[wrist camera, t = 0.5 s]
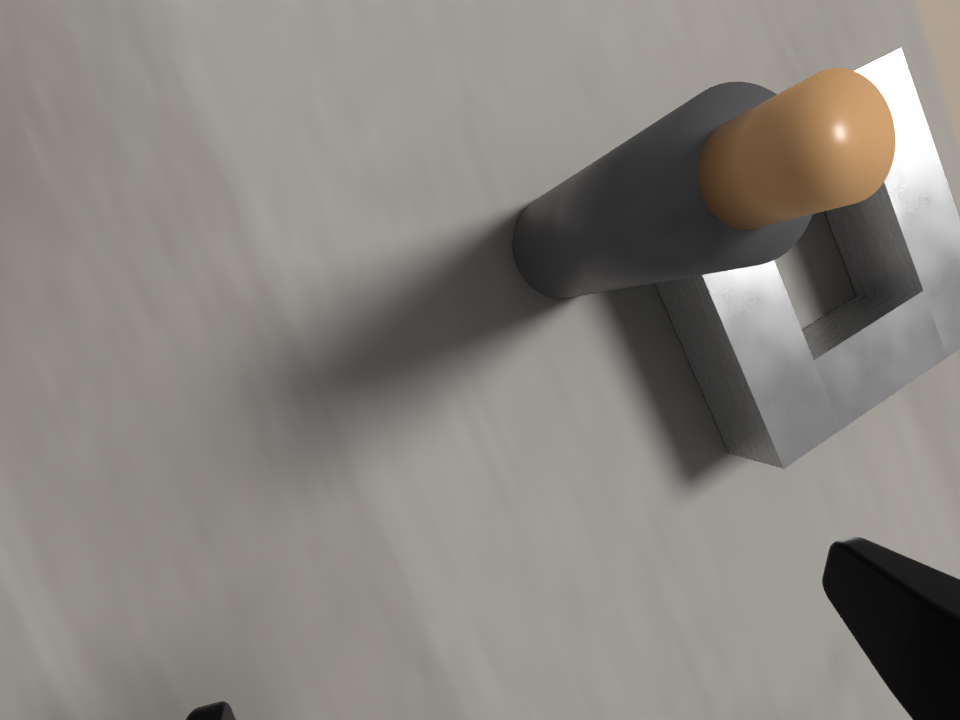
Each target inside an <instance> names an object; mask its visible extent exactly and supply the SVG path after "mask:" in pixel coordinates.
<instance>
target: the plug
mask: <svg viewBox="0 0 960 720" xmlns="http://www.w3.org/2000/svg"><path fill="white" fill-rule="evenodd" d="M894 154H895V128H894V122H893V118H892V115H891V112H890V109H889V107H888V104H887V102H886V100H885V99H884V97H883V95H882V94H881V92H880V91H879V89H878V88H877V87H876V86H875V85H874V84H873V83H872V82H871V81H870V80H869V79H868V78H866V77H865V76H863V75H862V74H860V73H858V72H856V71H853V70H850V69H845V68H831V69H826V70H824V71H821V72H819V73H817V74H815V75H813V76H811V77H809V78H808V79H806V80H804V81H802V82H800V83H798V84H796V85H795V86H793V87H791V88H789V89H787V90H785V91H783V92H781V93H780V94H778V95H777V94H775V93H773V92H772V91H770V90H768V89H766V88H764V87H762V86H759V85H755V84H752V83H746V82H728V83H723V84H719V85H716V86H714V87H711V88H709V89H707V90H705V91H704V92H702V93H700V94H699V95H697V96H696V97H694V98H692V99H691V100H689V101H688V102H686V103H685V104H683V105H682V106H680V107H679V108H677V109H675V110H674V111H672V112H671V113H669V114H668V115H666V116H665V117H663V118H662V119H660V120H658V121H657V122H655V123H654V124H652V125H651V126H649V127H648V128H646V129H645V130H643V131H641V132H640V133H638V134H637V135H635V136H634V137H632V138H631V139H629V140H628V141H626V142H624V143H623V144H621V145H620V146H618V147H617V148H615V149H614V150H612V151H610V152H609V153H607V154H606V155H604V156H603V157H601V158H600V159H598V160H597V161H595V162H593V163H592V164H590V165H589V166H587V167H586V168H584V169H583V170H581V171H580V172H578V173H576V174H575V175H573V176H572V177H570V178H569V179H567V180H566V181H564V182H563V183H561V184H559V185H558V186H556V187H555V188H553V189H552V190H550V191H549V192H547V193H546V194H544V195H542V196H541V197H539V198H538V199H536V200H535V201H533V202H532V203H531V204H529V205H528V206H527V207H526V209H525V210H524V211H523V212H522V214H521V215H520V217H519V219H518V221H517V223H516V226H515V229H514V233H513V241H512V245H513V255H514V259H515V262H516V265H517V267H518V269H519V271H520V273H521V275H522V276H523V278H524V279H525V280H526V281H527V282H528V283H529V284H530V285H531V286H532V287H533V288H534V289H536V290H537V291H539V292H540V293H543V294H545V295H547V296H551V297H555V298H570V297H576V296H582V295H588V294H594V293H600V292H605V291H611V290H617V289H623V288H629V287H635V286H640V285H646V284H652V283H658V282H664V281H670V280H675V279H681V278H687V277H693V276H699V275H705V274H711V273H716V272H722V271H728V270H734V269H740V268H746V267H751V266H757V265H762V264H765V263H768V262H771V261H773V260H775V259H777V258H779V257H780V256H782V255H783V254H785V253H786V252H787V251H788V250H789V249H791V248H792V247H793V246H794V245H795V244H796V242H797V241H798V240H799V239H800V238H801V236H802V235H803V233H804V232H805V230H806V228H807V226H808V224H809V222H810V220H811V218H812V215H813V214H816V213H820V212H823V211H827V210H831V209H835V208H839V207H843V206H847V205H851V204H855V203H858V202H861V201H863V200H865V199H867V198H869V197H870V196H872V195H873V194H874V193H875V192H876V191H877V190H878V189H879V188H880V187H881V185H882V184H883V183H884V181H885V179H886V178H887V176H888V174H889V171H890V169H891V166H892V163H893V159H894Z"/></svg>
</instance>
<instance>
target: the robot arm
mask: <svg viewBox="0 0 960 720" xmlns="http://www.w3.org/2000/svg"><path fill="white" fill-rule="evenodd" d="M822 583H823V588H824V591H825V593H826V595H827V597H828V599H829V600H830V602H831V603H832V605H833V606H834V608H835V609H836V611H837V612H838V614H839V615H840V617H841V618H842V620H843V621H844V623H845V624H846V626H847V627H848V629H849V630H850V632H851V633H852V635H853V636H854V638H855V639H856V641H857V642H858V644H859V645H860V647H861V648H862V649H863V651H864V652H865V654H866V655H867V657H868V658H869V660H870V661H871V663H872V664H873V666H874V667H875V669H876V670H877V672H878V673H879V675H880V676H881V678H882V679H883V681H884V682H885V683H886V685H887V686H888V688H889V689H890V690H891V692H892V693H893V694H894V696H895V697H896V698H897V700H898V701H899V702H900V704H901V705H902V706H903V708H904V709H905V710H906V711H907V713H908V714H909V715H910V716H911V718H912V719H913V720H960V580H959V579H957V578H955V577H952V576H950V575H948V574H945V573H943V572H941V571H938V570H936V569H934V568H931V567H929V566H927V565H924V564H922V563H920V562H917V561H915V560H913V559H910V558H908V557H906V556H903V555H901V554H899V553H896V552H894V551H892V550H889V549H887V548H885V547H882V546H880V545H878V544H875V543H873V542H871V541H868V540H866V539H863V538H860V537H852V538H848V539H844V540H840V541H837V542H834V543H833V544H832V545H831V546H830V549H829V553H828V557H827V561H826V565H825V570H824V574H823V579H822ZM186 720H236V719H235V717H234V714H233V712H232V709H231V707H230V706H229V704H228V703H227V702H224V701H222V702H217V703H213V704H210V705H206V706H202V707H199V708H196V709H195V710H193V711H192V712H191V713H190V714H189V715H188V717H187V718H186Z"/></svg>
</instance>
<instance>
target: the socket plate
mask: <svg viewBox="0 0 960 720" xmlns="http://www.w3.org/2000/svg"><path fill="white" fill-rule="evenodd" d="M855 71H856V72H858V73H860V74H862V75H863V76H865V77H866V78H868V79H869V80H870V81H871V82H872V83H873V84H874V85H875V86H876V87H877V88H878V89H879V91H880V92H881V94H882V95H883V97H884V99H885V100H886V102H887V104H888V107H889V109H890V112H891V115H892V118H893V122H894V128H895V154H894V159H893V163H892V166H891V169H890V171H889V174H888V176H887V178H886V179H885V181H884V183H883V184H882V185H881V187H880V188H879V189H878V190H877V191H876V192H875V193H874V194H873V195H872V196H870V197H869V198H867V199H865V200H863V201H861V202H858V203H855V204H851V205H847V206H843V207H839V208H835V209H831V210H827V211H825V214H826V216H827V219H828V221H829V224H830V227H831V229H832V232H833V235H834V237H835V240H836V242H837V245H838V248H839V250H840V253H841V256H842V258H843V261H844V264H845V266H846V269H847V271H848V274H849V277H850V279H851V282H852V285H853V287H854V290H855V292H856V295H857V296H856V297H855V298H853V299H852V300H850V301H848V302H847V303H845V304H843V305H842V306H840V307H839V308H837V309H835V310H834V311H832V312H830V313H829V314H827V315H826V316H824V317H822V318H821V319H819V320H817V321H816V322H814V323H813V324H811V325H809V326H808V327H806V328H804V329H803V330H802V329H801V327H800V324H799V322H798V319H797V317H796V314H795V312H794V309H793V307H792V304H791V302H790V299H789V297H788V294H787V292H786V289H785V287H784V284H783V282H782V279H781V277H780V274H779V272H778V269H777V267H776V264H775V262H774V260H773V261H771V262H768V263H765V264H762V265H757V266H751V267H746V268H740V269H734V270H728V271H722V272H716V273H711V274H705V275H699V276H693V277H687V278H681V279H675V280H670V281H664V282H658V283H655V284H656V287H657V289H658V291H659V293H660V296H661V298H662V300H663V303H664V305H665V307H666V309H667V312H668V314H669V316H670V319H671V321H672V323H673V326H674V328H675V330H676V332H677V335H678V337H679V339H680V342H681V344H682V346H683V348H684V351H685V353H686V355H687V358H688V360H689V362H690V364H691V367H692V369H693V371H694V374H695V376H696V378H697V381H698V383H699V385H700V387H701V390H702V392H703V394H704V397H705V399H706V401H707V403H708V406H709V408H710V410H711V413H712V415H713V417H714V419H715V422H716V424H717V426H718V429H719V431H720V433H721V436H722V438H723V440H724V442H725V445H726V447H727V449H728V452H729V454H733V455H736V456H740V457H743V458H747V459H751V460H754V461H758V462H762V463H765V464H769V465H773V466H776V467H780V468H783V469H784V468H785V467H787V466H788V465H790V464H791V463H793V462H794V461H796V460H797V459H799V458H800V457H801V456H803V455H804V454H806V453H807V452H809V451H810V450H812V449H813V448H815V447H816V446H818V445H819V444H821V443H822V442H823V441H825V440H826V439H828V438H829V437H831V436H832V435H834V434H835V433H837V432H838V431H840V430H841V429H843V428H844V427H845V426H847V425H848V424H850V423H851V422H853V421H854V420H856V419H857V418H859V417H860V416H862V415H863V414H865V413H866V412H867V411H869V410H870V409H872V408H873V407H875V406H876V405H878V404H879V403H881V402H882V401H884V400H885V399H887V398H888V397H889V396H891V395H892V394H894V393H895V392H897V391H898V390H900V389H901V388H903V387H904V386H906V385H907V384H909V383H910V382H911V381H913V380H914V379H916V378H917V377H919V376H920V375H922V374H923V373H925V372H926V371H928V370H929V369H931V368H932V367H933V366H935V365H936V364H938V363H939V362H941V361H942V360H944V359H945V358H947V357H948V356H950V355H951V354H953V353H954V352H955V351H957V350H958V349H960V218H959V215H958V212H957V209H956V206H955V203H954V200H953V197H952V195H951V192H950V189H949V186H948V183H947V180H946V177H945V174H944V171H943V168H942V165H941V162H940V160H939V157H938V154H937V151H936V148H935V145H934V142H933V139H932V136H931V133H930V130H929V127H928V124H927V122H926V119H925V116H924V113H923V110H922V107H921V104H920V101H919V98H918V95H917V92H916V89H915V87H914V84H913V81H912V78H911V75H910V72H909V69H908V66H907V63H906V60H905V57H904V54H903V52H902V49H901V48H900V49H898V50H896V51H894V52H892V53H890V54H888V55H886V56H884V57H882V58H880V59H878V60H875V61H873V62H871V63H869V64H867V65H865V66H863V67H861V68H859V69H857V70H855Z"/></svg>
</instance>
